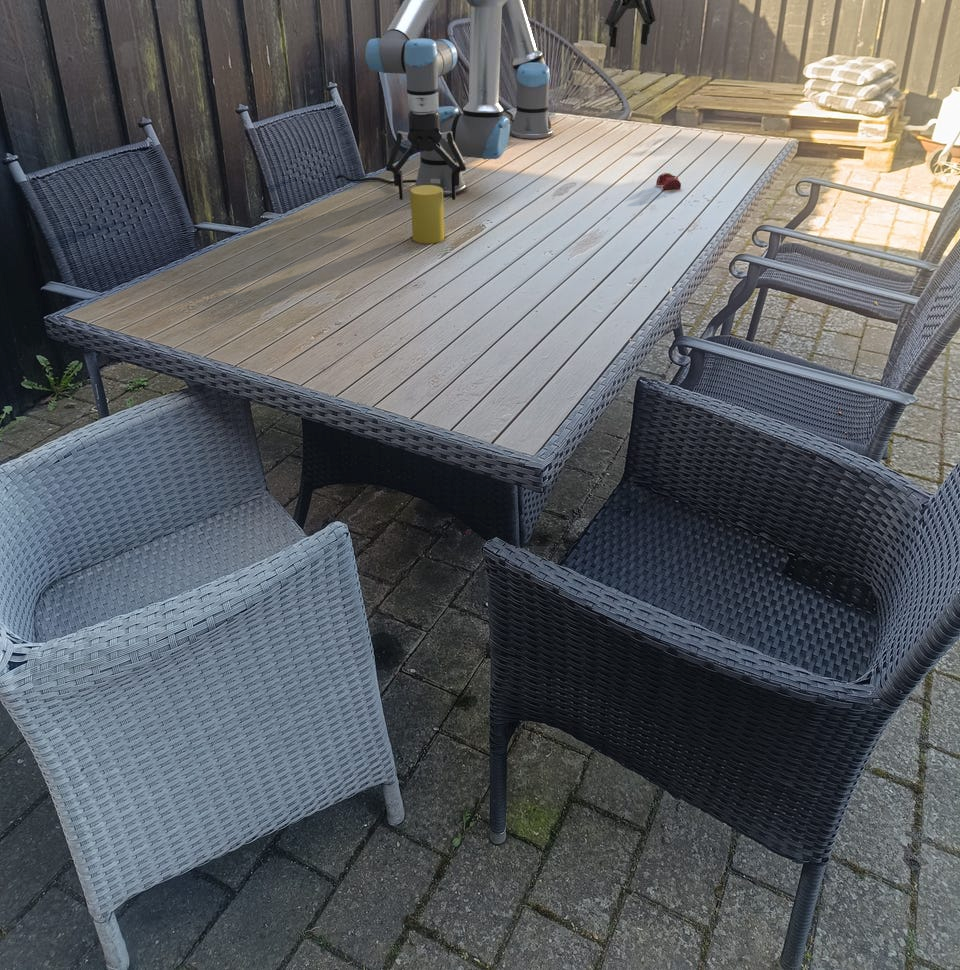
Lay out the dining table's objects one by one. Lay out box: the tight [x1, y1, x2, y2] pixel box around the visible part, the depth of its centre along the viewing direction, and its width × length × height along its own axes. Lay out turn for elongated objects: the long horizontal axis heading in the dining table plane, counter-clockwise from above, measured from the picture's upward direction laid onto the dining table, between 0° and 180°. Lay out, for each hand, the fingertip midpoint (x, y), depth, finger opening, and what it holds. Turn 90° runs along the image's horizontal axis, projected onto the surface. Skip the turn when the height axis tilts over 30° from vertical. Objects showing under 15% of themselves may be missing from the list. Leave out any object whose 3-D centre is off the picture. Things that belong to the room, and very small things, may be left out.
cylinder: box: [409, 185, 445, 245], centre depth 220 cm, size 8×8×13 cm
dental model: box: [655, 172, 682, 192], centre depth 259 cm, size 6×4×8 cm
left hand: (427, 198), depth 218 cm, fingers open, 13 cm apart
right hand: (628, 45), depth 308 cm, fingers open, 13 cm apart
